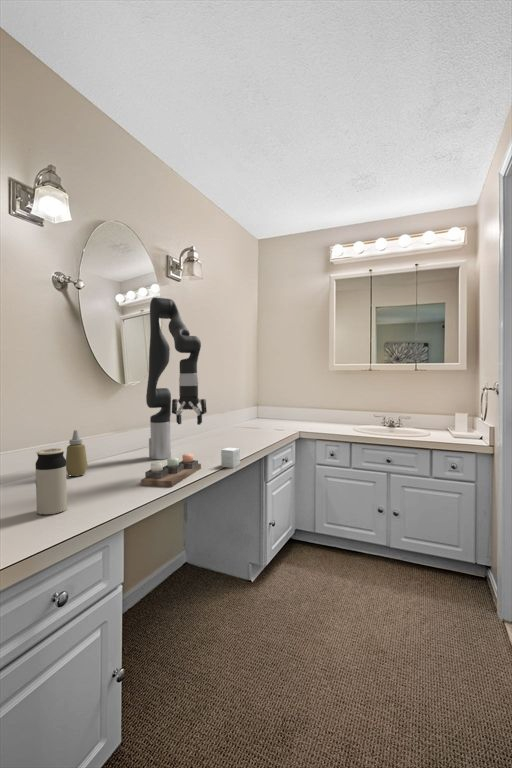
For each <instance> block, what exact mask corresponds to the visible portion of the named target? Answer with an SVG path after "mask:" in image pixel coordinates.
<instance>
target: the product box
mask: <svg viewBox="0 0 512 768" xmlns="http://www.w3.org/2000/svg"><path fill="white" fill-rule="evenodd" d="M240 449H241V448H238V447H225V448H223V449H221V451H220V453H221V458H220V459H221V462H220V463H221V466H220V467H222V468H230V469H231V468H233V469H234V468H236V467H238V466H240V465H241V455H240V451H241V450H240Z"/></svg>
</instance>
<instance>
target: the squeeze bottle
mask: <svg viewBox="0 0 512 768" xmlns="http://www.w3.org/2000/svg"><path fill="white" fill-rule="evenodd" d="M78 432H79V431H78V430H76V429H75V430H73V435H72V438H71V439H69V441H68V442H69V443H68V444H69V445H67V447H66V452H65V453H66V455H65V459H66V474H67V475H68V476H69V475H71V476H77V475H82V476H84V475H85V474H86V473H87V472H86V471H87V468H88V461H87V452H86V451H87V450H86V445H85V444H83V439H82V438H80V436H79V433H78ZM83 474H84V475H83Z"/></svg>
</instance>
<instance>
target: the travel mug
mask: <svg viewBox="0 0 512 768" xmlns="http://www.w3.org/2000/svg"><path fill="white" fill-rule="evenodd" d="M65 451H66V450H65V448H62V447H55V448H52V447H51V448H44V449H40V450H37V451H36V452H35V453H36V455H37V459H36V461H35V492H36V494H35V495H36V497H35V498H36V513H37V514H38V513H39V514H38V515H41V514H53V515H56V514H55V513H58V514H60V513H59V512H61V513H63V512H65V511H66V510H67V509H68V488H67V487H68V485H67V484H68V483H67V482H68V481H67V470H66V457H65V456H64V453H65ZM62 511H63V512H62Z"/></svg>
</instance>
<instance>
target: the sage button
mask: <svg viewBox="0 0 512 768" xmlns="http://www.w3.org/2000/svg"><path fill="white" fill-rule="evenodd" d="M166 460H167V461H166V463H167V467H170V468H176V467H179V462H180V459H179V457H170V458H167V459H166Z"/></svg>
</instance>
